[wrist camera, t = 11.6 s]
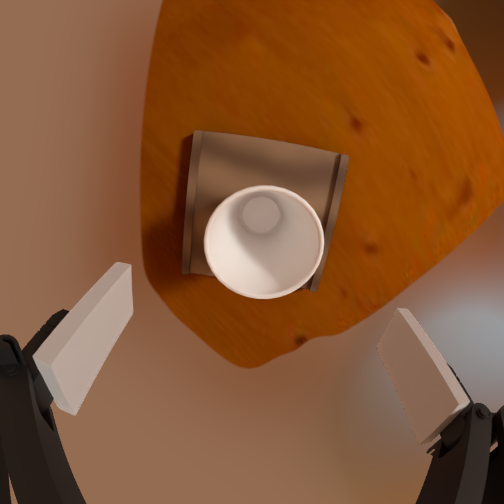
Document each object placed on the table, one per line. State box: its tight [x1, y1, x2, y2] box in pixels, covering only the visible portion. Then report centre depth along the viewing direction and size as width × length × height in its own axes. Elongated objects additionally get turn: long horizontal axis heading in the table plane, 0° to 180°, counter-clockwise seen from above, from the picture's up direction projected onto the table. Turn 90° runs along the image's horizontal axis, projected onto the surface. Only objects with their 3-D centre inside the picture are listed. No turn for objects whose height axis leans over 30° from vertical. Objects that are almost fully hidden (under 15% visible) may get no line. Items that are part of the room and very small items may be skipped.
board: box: [182, 130, 349, 292], centre depth 33 cm, size 18×18×2 cm
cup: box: [204, 185, 324, 299], centre depth 27 cm, size 10×10×11 cm
